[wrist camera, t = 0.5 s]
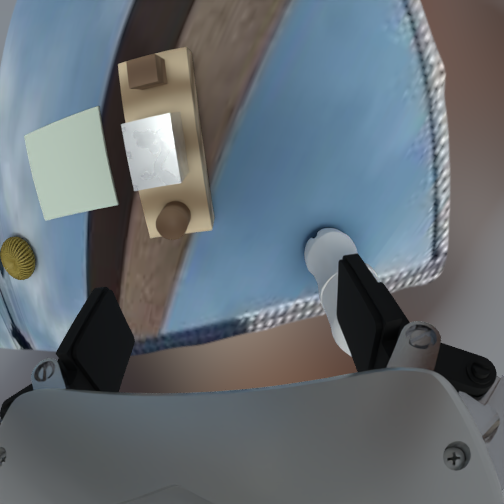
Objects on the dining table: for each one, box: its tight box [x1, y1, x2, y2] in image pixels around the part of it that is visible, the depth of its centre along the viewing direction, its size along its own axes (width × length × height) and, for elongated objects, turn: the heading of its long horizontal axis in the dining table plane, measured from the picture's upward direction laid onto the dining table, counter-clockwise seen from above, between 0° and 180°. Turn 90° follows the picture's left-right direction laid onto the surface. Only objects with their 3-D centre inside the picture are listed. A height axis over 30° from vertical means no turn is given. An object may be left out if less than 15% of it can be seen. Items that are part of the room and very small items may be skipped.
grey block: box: [121, 112, 189, 191], centre depth 28 cm, size 7×5×5 cm
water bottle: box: [304, 228, 380, 357], centre depth 30 cm, size 7×7×25 cm
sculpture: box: [0, 237, 35, 280], centre depth 38 cm, size 8×4×8 cm
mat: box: [24, 106, 119, 221], centre depth 33 cm, size 14×14×1 cm
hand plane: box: [118, 47, 214, 240], centre depth 30 cm, size 22×8×8 cm, turn 6°
